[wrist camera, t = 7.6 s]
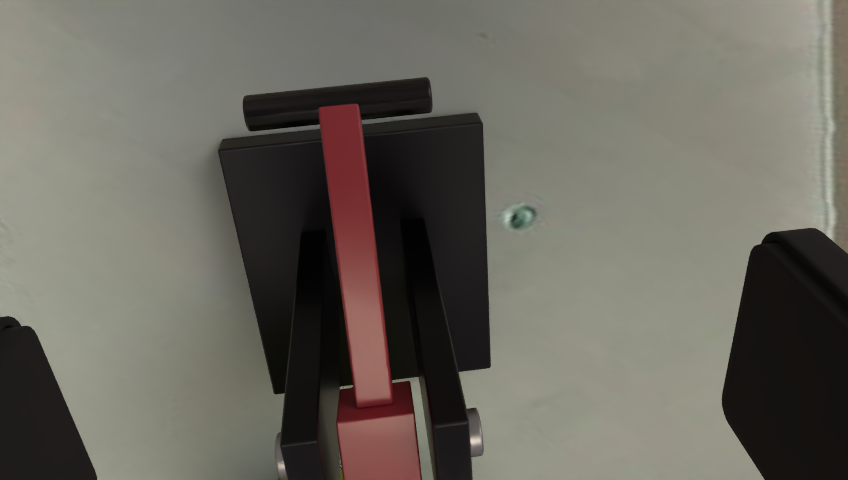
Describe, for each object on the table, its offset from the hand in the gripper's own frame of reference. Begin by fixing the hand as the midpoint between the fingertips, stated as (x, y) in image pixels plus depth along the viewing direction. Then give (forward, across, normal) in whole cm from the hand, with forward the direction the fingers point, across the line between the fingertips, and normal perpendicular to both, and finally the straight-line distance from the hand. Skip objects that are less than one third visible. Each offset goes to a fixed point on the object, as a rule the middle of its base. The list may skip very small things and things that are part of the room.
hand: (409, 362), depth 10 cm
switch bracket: (+19, +1, +10) cm, 21 cm away
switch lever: (+11, +1, +6) cm, 12 cm away
